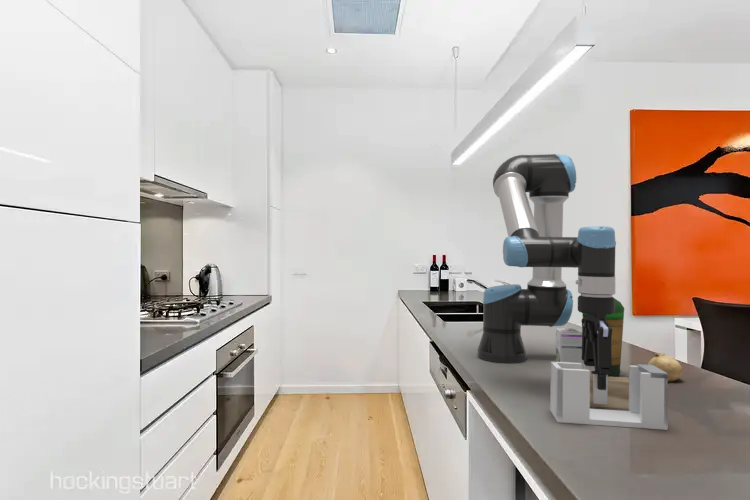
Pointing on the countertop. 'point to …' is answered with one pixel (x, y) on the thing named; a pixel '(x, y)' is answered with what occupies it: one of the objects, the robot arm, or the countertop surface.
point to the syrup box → (569, 345)
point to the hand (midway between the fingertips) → (595, 398)
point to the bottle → (615, 336)
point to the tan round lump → (667, 366)
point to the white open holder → (643, 410)
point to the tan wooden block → (614, 393)
